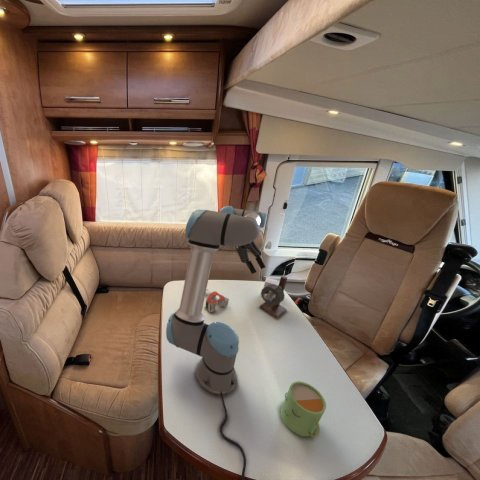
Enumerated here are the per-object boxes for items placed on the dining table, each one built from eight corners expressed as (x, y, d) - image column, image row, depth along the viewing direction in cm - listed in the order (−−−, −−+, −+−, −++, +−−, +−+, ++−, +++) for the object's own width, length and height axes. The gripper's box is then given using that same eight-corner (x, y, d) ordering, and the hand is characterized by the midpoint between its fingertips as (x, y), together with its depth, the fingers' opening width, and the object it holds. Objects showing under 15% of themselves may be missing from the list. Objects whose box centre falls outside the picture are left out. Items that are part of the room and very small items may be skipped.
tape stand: (269, 301, 135) (277, 272, 127) (286, 311, 128) (295, 280, 120) (251, 313, 126) (258, 282, 117) (268, 324, 118) (277, 292, 110)
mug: (274, 404, 83) (282, 382, 78) (302, 402, 84) (311, 380, 79) (295, 447, 72) (306, 424, 67) (327, 444, 73) (340, 422, 68)
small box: (277, 296, 140) (281, 281, 136) (275, 301, 136) (279, 286, 131) (262, 291, 144) (266, 277, 140) (261, 296, 140) (264, 281, 135)
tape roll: (259, 298, 126) (263, 283, 122) (263, 295, 129) (268, 280, 124) (277, 309, 119) (282, 293, 115) (281, 305, 122) (286, 290, 117)
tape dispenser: (199, 290, 145) (194, 309, 127) (200, 283, 144) (195, 301, 126) (229, 295, 141) (228, 315, 123) (229, 287, 139) (229, 307, 121)
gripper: (244, 231, 137) (264, 267, 132) (221, 239, 126) (242, 278, 120) (254, 225, 131) (275, 262, 126) (231, 233, 120) (253, 274, 114)
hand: (258, 270), depth 123 cm, fingers open, 8 cm apart
